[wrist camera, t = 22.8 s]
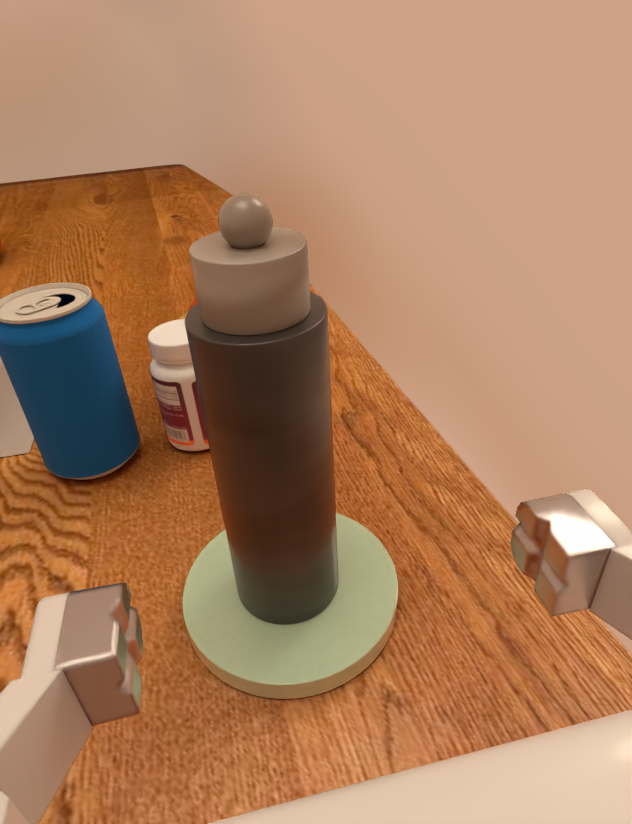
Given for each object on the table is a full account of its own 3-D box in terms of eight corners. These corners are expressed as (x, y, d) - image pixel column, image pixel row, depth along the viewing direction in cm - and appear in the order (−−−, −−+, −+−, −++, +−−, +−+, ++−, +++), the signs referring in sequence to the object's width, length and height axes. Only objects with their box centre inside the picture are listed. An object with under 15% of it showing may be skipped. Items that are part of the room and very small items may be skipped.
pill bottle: (227, 410, 44) (211, 311, 40) (235, 446, 40) (218, 341, 36) (166, 421, 43) (141, 321, 39) (168, 458, 40) (141, 353, 35)
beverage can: (160, 453, 40) (118, 295, 34) (75, 501, 37) (9, 334, 30) (113, 420, 44) (67, 272, 37) (32, 460, 40) (-35, 304, 34)
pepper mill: (310, 641, 26) (272, 223, 15) (217, 602, 28) (125, 209, 17) (354, 560, 30) (348, 179, 19) (269, 531, 32) (220, 172, 21)
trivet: (347, 741, 24) (346, 726, 23) (141, 645, 28) (135, 630, 27) (424, 554, 32) (425, 539, 31) (255, 501, 36) (253, 487, 35)
